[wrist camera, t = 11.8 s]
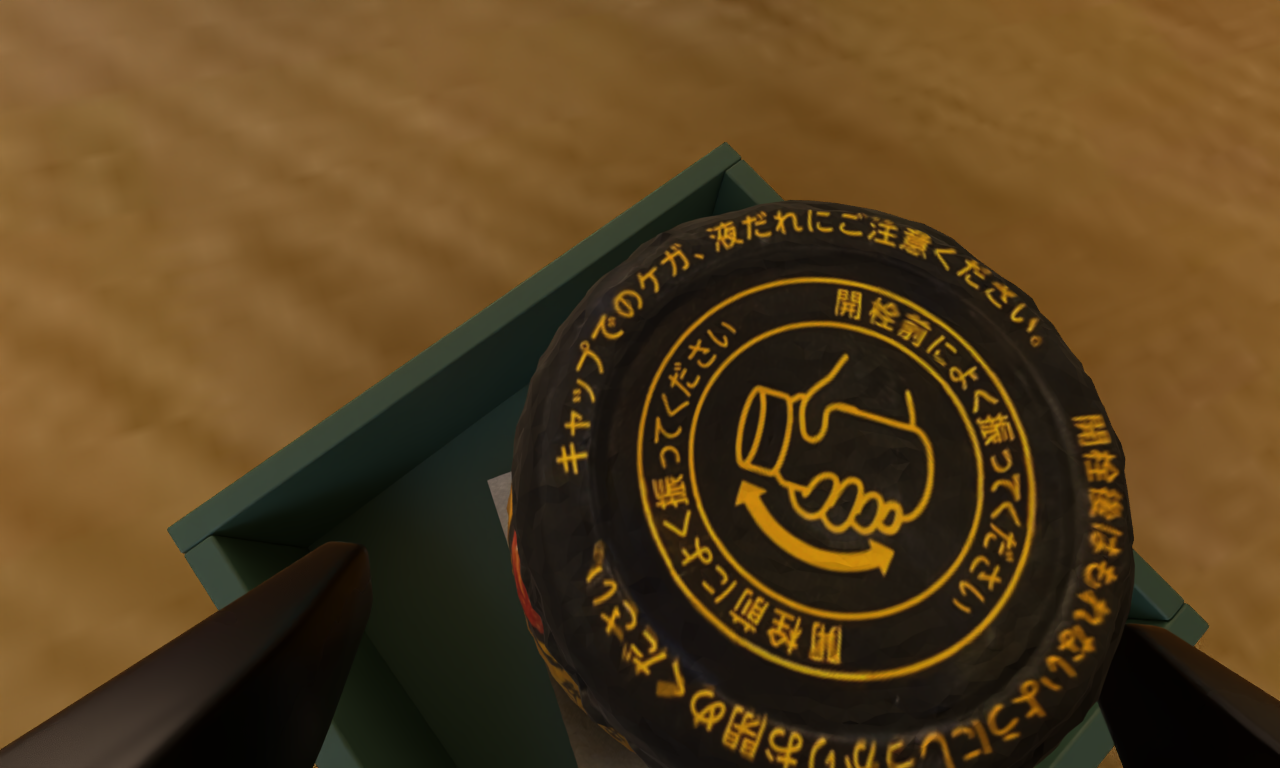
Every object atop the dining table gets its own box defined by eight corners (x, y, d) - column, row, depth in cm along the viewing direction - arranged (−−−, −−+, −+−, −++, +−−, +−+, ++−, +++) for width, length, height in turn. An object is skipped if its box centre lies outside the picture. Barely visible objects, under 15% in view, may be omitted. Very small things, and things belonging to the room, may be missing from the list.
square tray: (1044, 616, 17) (1212, 626, 13) (640, 1066, 14) (661, 1315, 9) (696, 246, 20) (725, 140, 15) (288, 546, 17) (164, 528, 12)
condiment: (742, 389, 18) (993, 35, 6) (882, 702, 16) (1645, 1002, 4) (488, 481, 17) (248, 246, 5) (600, 834, 14) (606, 1751, 3)
